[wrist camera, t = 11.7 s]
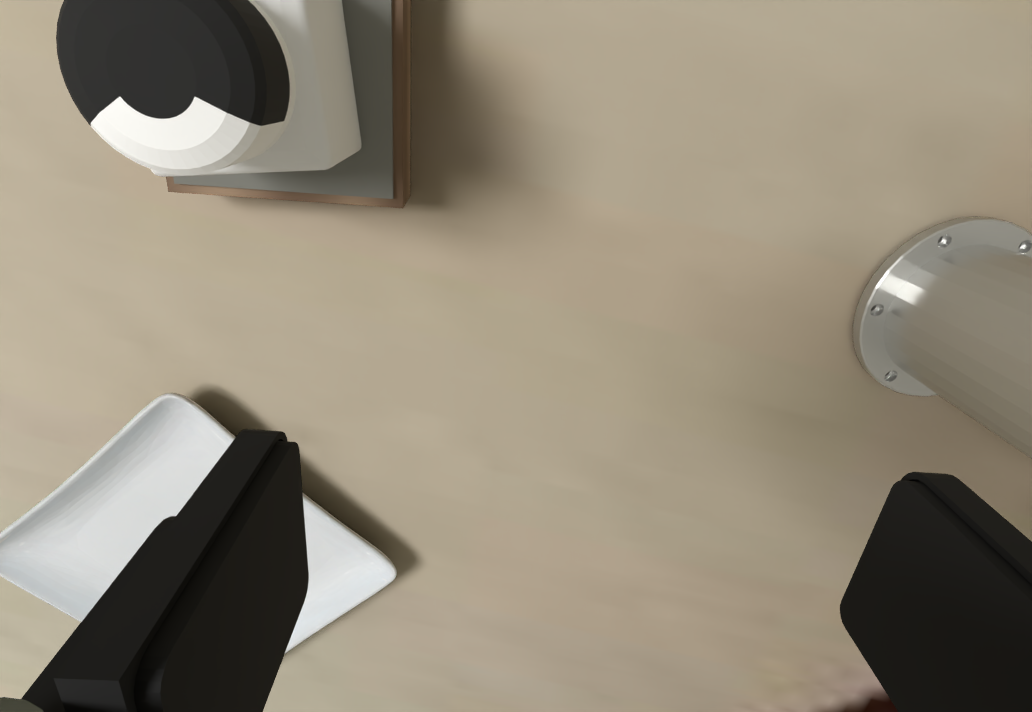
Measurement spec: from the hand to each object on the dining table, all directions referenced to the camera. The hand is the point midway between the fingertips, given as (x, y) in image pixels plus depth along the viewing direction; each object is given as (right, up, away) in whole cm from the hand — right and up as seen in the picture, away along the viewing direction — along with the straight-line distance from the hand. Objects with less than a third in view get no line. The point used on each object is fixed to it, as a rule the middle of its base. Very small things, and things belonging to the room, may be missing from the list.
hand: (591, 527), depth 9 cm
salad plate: (-25, -11, +36) cm, 45 cm away
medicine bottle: (-13, +16, +19) cm, 28 cm away
